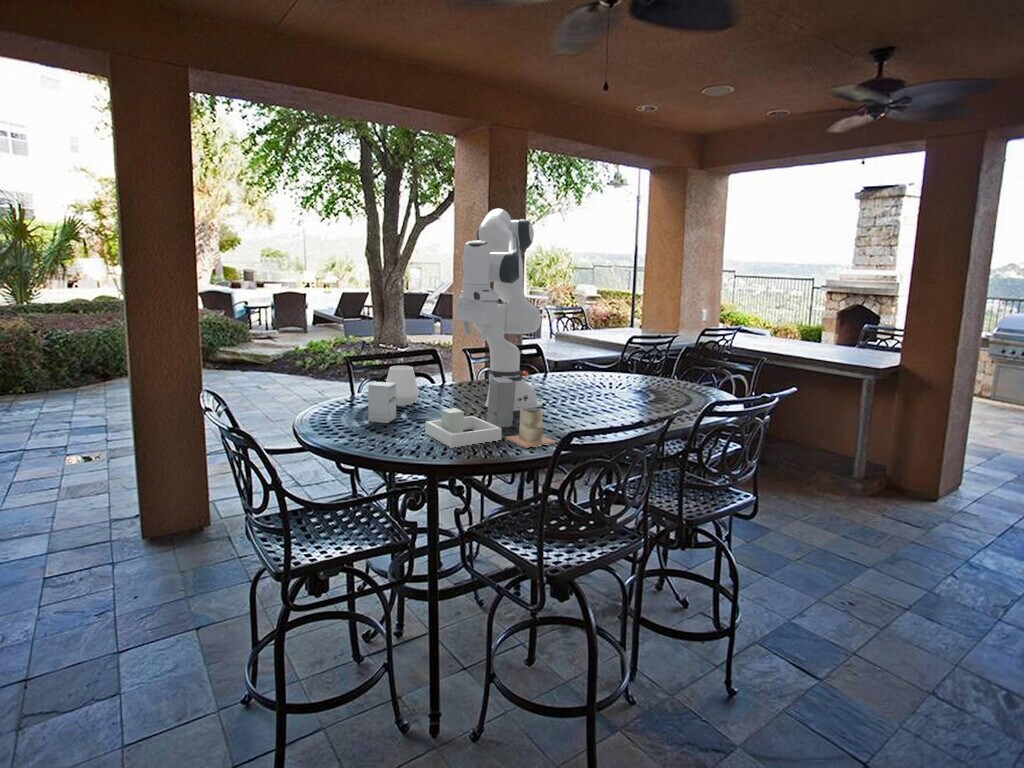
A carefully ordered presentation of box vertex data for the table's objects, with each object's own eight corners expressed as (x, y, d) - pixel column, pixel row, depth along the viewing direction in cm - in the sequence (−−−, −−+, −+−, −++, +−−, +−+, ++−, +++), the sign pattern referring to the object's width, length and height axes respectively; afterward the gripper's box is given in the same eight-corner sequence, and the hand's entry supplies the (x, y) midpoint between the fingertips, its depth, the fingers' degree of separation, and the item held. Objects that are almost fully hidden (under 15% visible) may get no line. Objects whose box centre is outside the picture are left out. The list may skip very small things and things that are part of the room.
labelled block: (532, 435, 195) (533, 407, 193) (541, 439, 191) (543, 410, 189) (519, 437, 192) (520, 408, 191) (528, 441, 188) (529, 412, 186)
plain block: (455, 435, 196) (455, 408, 194) (463, 439, 192) (463, 411, 190) (441, 437, 193) (441, 409, 191) (448, 442, 189) (449, 413, 187)
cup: (405, 398, 247) (405, 363, 245) (426, 404, 238) (426, 368, 236) (376, 402, 238) (376, 366, 235) (397, 409, 229) (397, 371, 226)
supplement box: (388, 423, 208) (388, 386, 205) (367, 421, 209) (367, 384, 207) (396, 418, 215) (396, 382, 213) (376, 416, 216) (376, 381, 214)
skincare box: (486, 422, 214) (487, 377, 211) (505, 421, 217) (506, 376, 214) (495, 428, 206) (496, 381, 203) (515, 427, 209) (516, 380, 206)
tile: (534, 435, 199) (534, 432, 199) (555, 444, 190) (555, 441, 190) (505, 439, 193) (505, 436, 193) (525, 449, 184) (526, 445, 184)
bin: (473, 427, 206) (473, 415, 206) (501, 440, 192) (501, 428, 191) (425, 433, 197) (425, 421, 196) (451, 448, 183) (451, 435, 182)
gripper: (451, 290, 203) (450, 332, 206) (484, 295, 187) (483, 341, 190) (467, 290, 207) (467, 331, 210) (501, 295, 190) (500, 340, 193)
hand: (475, 336), depth 200 cm, fingers open, 8 cm apart
